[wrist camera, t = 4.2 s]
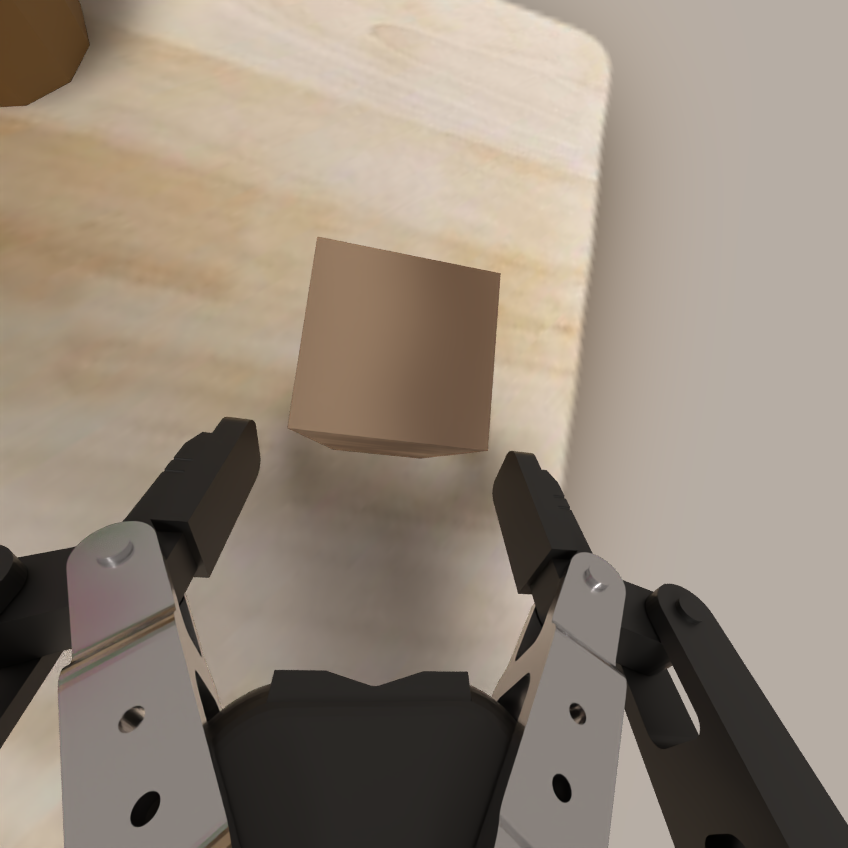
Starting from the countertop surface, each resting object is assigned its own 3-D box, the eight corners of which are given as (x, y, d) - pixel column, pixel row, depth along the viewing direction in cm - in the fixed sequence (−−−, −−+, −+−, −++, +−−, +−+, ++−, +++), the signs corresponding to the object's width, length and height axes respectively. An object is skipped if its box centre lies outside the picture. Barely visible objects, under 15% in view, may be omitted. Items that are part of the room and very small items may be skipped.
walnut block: (332, 449, 19) (287, 428, 8) (344, 363, 19) (317, 236, 9) (420, 458, 19) (487, 450, 9) (428, 375, 20) (500, 273, 9)
